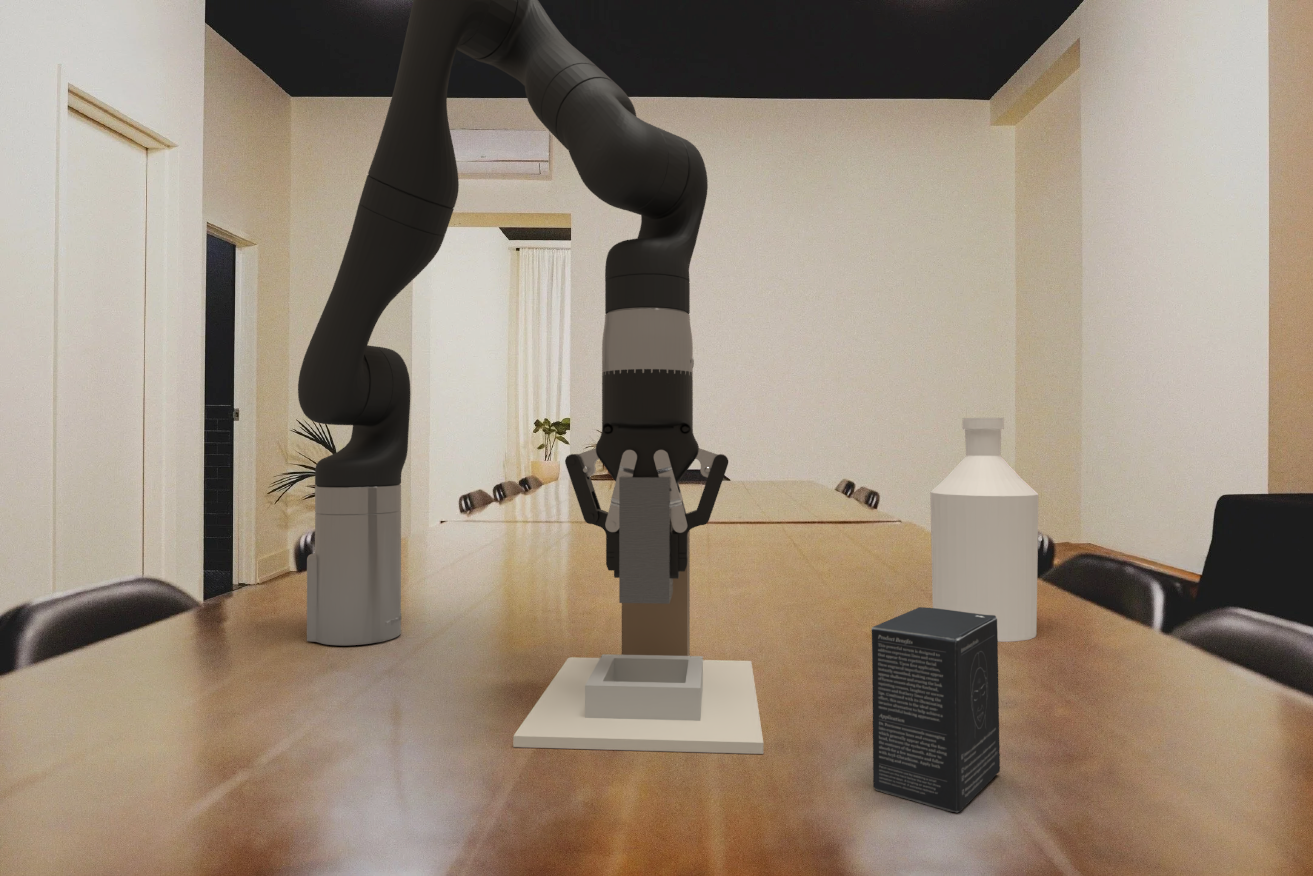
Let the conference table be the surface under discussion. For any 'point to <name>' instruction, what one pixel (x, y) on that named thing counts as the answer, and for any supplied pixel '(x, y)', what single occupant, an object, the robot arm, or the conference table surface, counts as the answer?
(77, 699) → the conference table surface
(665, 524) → the tall grey pillar block
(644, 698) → the post base
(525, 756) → the conference table surface
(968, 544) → the bottle
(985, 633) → the box
